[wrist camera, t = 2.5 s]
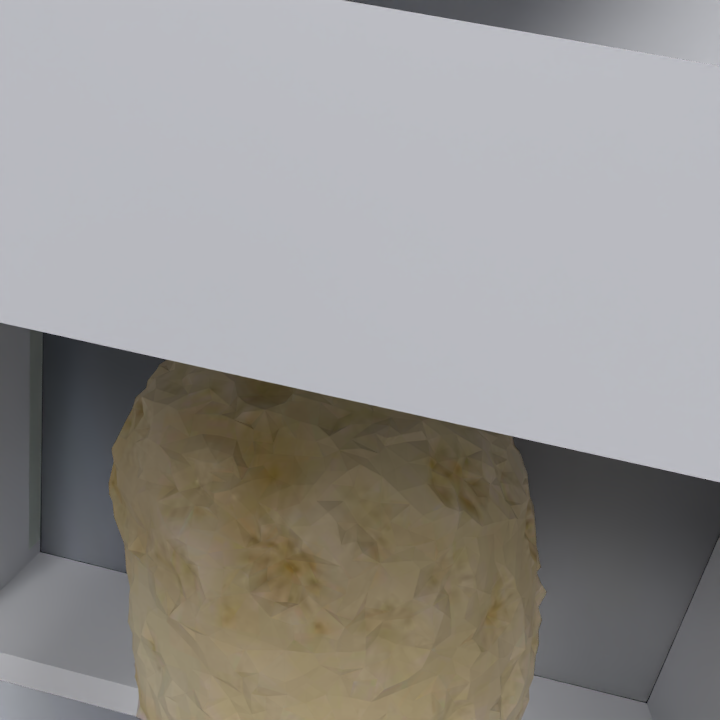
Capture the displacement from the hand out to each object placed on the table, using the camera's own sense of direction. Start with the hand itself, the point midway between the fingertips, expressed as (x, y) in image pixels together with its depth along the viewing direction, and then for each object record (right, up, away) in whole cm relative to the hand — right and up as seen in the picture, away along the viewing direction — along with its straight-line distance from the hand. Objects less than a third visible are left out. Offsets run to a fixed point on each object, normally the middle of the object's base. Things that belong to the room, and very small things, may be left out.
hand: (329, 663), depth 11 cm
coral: (+1, +3, +8) cm, 8 cm away
